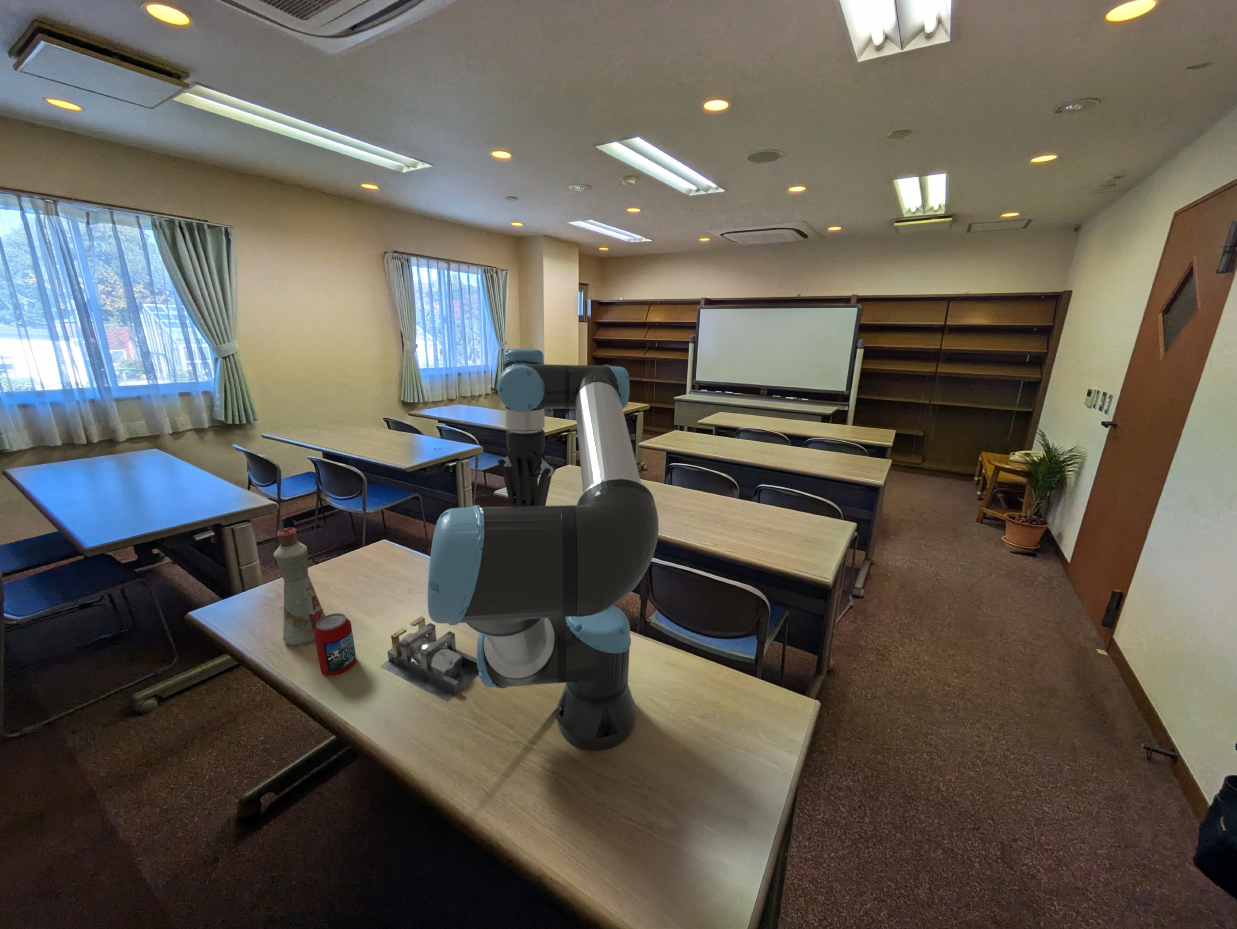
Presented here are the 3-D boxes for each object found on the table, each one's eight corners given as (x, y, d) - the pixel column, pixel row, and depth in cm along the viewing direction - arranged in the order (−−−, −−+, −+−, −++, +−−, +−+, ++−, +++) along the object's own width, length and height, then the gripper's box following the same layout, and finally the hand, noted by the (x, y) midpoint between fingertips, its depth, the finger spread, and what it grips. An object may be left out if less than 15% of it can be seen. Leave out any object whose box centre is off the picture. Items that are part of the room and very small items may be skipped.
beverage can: (340, 682, 96) (332, 633, 93) (313, 676, 98) (304, 627, 94) (364, 660, 103) (357, 613, 99) (337, 655, 104) (330, 609, 101)
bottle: (281, 634, 110) (259, 526, 102) (325, 620, 116) (307, 516, 108) (286, 653, 104) (264, 539, 96) (332, 637, 110) (315, 528, 102)
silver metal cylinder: (464, 666, 100) (460, 649, 98) (446, 684, 96) (442, 666, 94) (418, 645, 106) (414, 628, 104) (400, 661, 102) (395, 643, 100)
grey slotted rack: (489, 668, 102) (488, 636, 99) (447, 705, 91) (444, 671, 89) (425, 639, 110) (422, 609, 108) (380, 670, 100) (376, 637, 98)
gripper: (563, 430, 92) (563, 538, 99) (512, 422, 97) (515, 525, 104) (541, 437, 85) (542, 552, 92) (487, 428, 91) (492, 537, 98)
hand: (528, 538), depth 98 cm, fingers closed
